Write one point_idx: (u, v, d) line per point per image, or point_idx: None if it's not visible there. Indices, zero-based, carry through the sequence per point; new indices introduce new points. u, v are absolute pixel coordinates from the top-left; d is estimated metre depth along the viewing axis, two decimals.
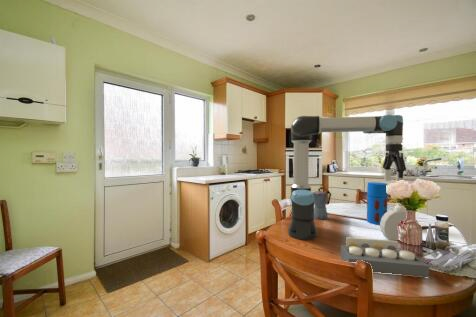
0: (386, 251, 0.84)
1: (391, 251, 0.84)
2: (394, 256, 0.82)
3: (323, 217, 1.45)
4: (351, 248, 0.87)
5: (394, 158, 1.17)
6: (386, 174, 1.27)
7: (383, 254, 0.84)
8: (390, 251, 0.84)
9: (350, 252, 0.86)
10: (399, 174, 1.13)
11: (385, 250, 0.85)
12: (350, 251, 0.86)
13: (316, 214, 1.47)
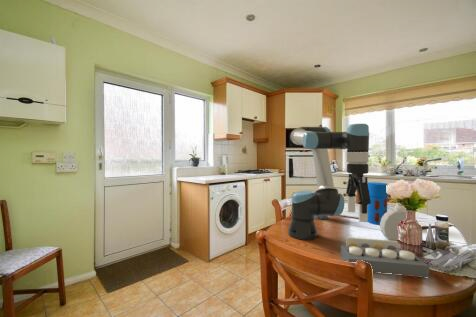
0: (386, 251, 0.84)
1: (391, 251, 0.84)
2: (394, 256, 0.82)
3: (323, 217, 1.45)
4: (351, 248, 0.87)
5: (357, 184, 0.84)
6: (349, 203, 0.93)
7: (383, 254, 0.84)
8: (390, 251, 0.84)
9: (350, 252, 0.86)
10: (362, 208, 0.79)
11: (385, 250, 0.85)
12: (350, 251, 0.86)
13: None
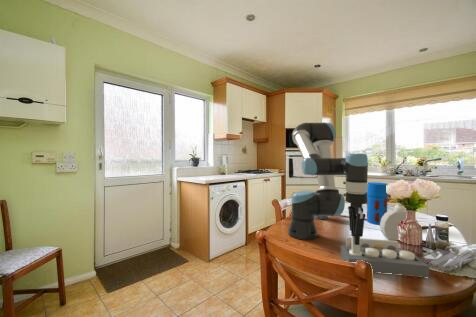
0: (386, 251, 0.84)
1: (391, 251, 0.84)
2: (394, 256, 0.82)
3: (323, 217, 1.45)
4: (351, 251, 0.87)
5: (356, 214, 0.84)
6: None
7: (383, 254, 0.84)
8: (390, 251, 0.84)
9: None
10: (355, 240, 0.85)
11: (385, 250, 0.85)
12: (350, 254, 0.86)
13: None
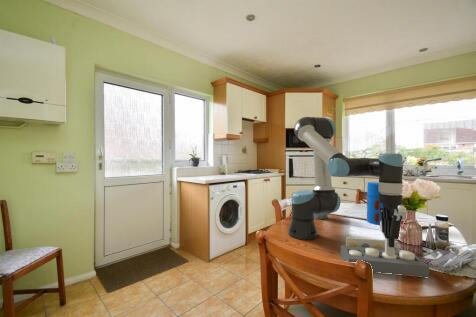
0: None
1: None
2: None
3: (323, 217, 1.45)
4: (351, 252, 0.87)
5: (391, 215, 0.81)
6: None
7: None
8: None
9: None
10: (389, 242, 0.83)
11: None
12: None
13: (316, 214, 1.47)
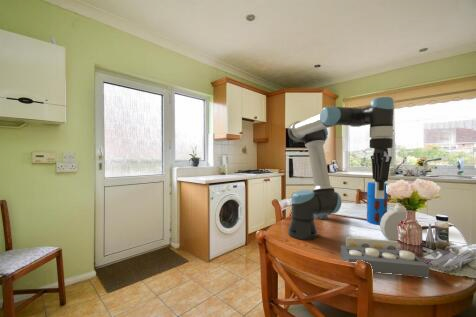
0: (386, 255, 0.84)
1: (391, 255, 0.84)
2: None
3: (323, 217, 1.45)
4: (351, 252, 0.87)
5: (381, 158, 0.83)
6: None
7: None
8: (390, 255, 0.84)
9: None
10: (379, 185, 0.84)
11: (385, 254, 0.85)
12: None
13: None
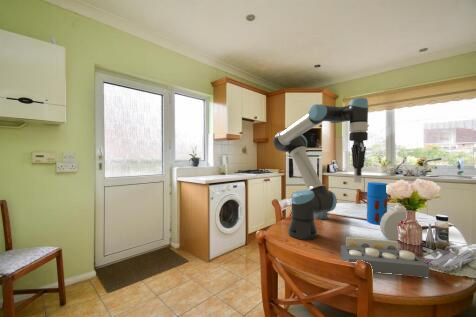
0: (386, 255, 0.84)
1: (391, 255, 0.84)
2: None
3: (323, 217, 1.45)
4: (351, 252, 0.87)
5: (358, 149, 1.00)
6: None
7: None
8: (390, 255, 0.84)
9: None
10: (357, 171, 1.01)
11: (385, 254, 0.85)
12: None
13: (316, 214, 1.47)
